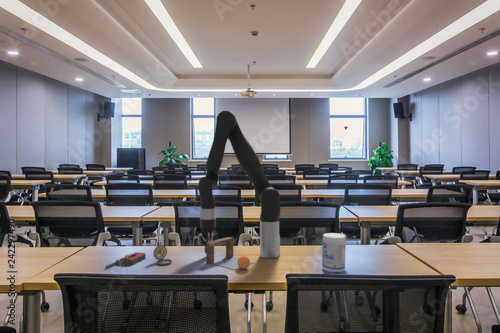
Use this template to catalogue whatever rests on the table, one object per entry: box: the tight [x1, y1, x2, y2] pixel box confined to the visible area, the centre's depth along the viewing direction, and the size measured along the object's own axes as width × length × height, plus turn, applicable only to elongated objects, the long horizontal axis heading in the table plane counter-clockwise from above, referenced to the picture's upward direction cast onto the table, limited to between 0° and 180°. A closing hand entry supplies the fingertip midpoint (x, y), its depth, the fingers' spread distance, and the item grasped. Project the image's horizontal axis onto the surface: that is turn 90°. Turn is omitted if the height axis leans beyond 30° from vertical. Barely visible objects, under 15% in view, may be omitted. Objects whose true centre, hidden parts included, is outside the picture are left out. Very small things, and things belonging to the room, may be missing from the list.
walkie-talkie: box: [105, 251, 146, 269], centre depth 153 cm, size 9×4×20 cm
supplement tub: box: [321, 232, 347, 273], centre depth 144 cm, size 10×10×15 cm
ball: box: [237, 255, 251, 270], centre depth 145 cm, size 6×6×6 cm
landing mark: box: [213, 256, 254, 271], centre depth 152 cm, size 13×13×1 cm
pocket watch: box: [153, 239, 173, 266], centre depth 153 cm, size 8×8×10 cm
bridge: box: [205, 236, 234, 265], centre depth 158 cm, size 3×14×9 cm, turn 139°
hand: (208, 253), depth 163 cm, fingers closed
